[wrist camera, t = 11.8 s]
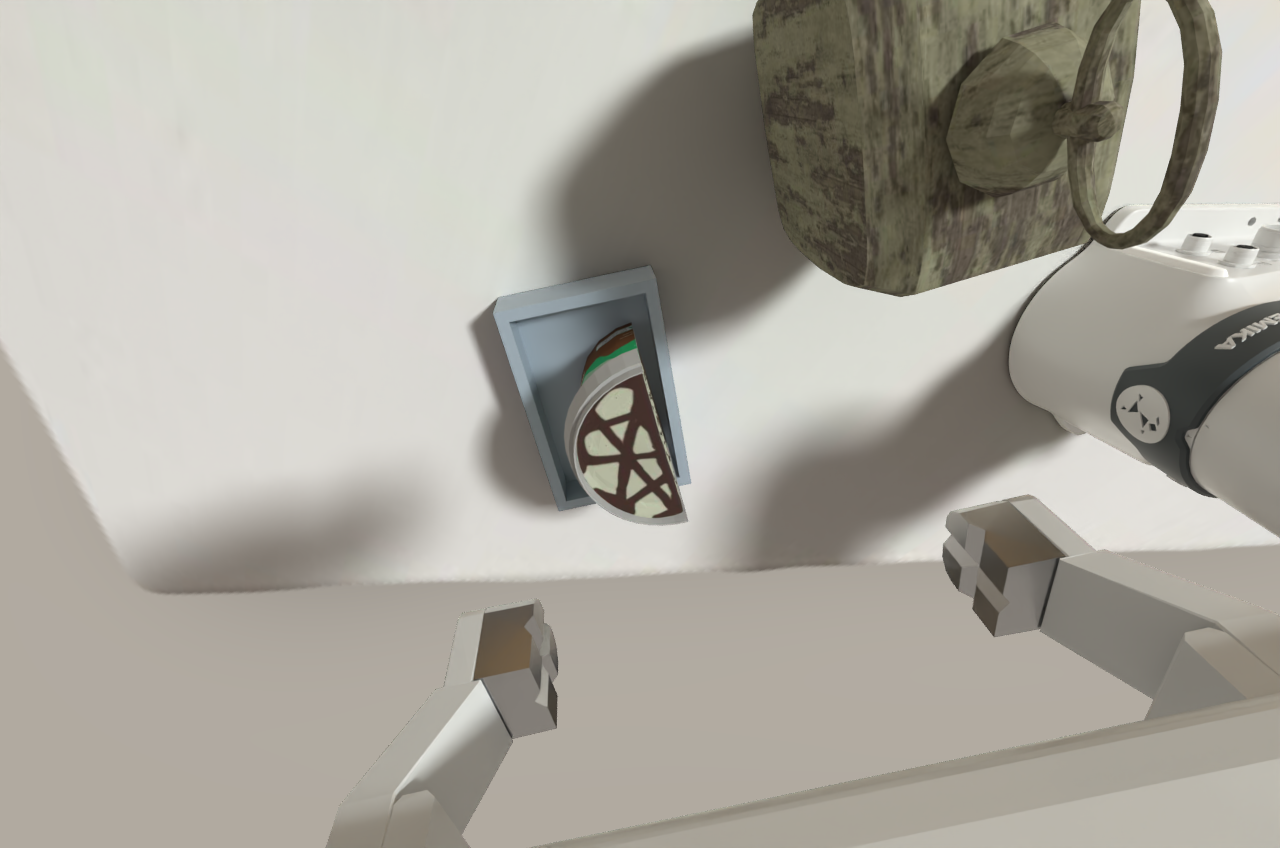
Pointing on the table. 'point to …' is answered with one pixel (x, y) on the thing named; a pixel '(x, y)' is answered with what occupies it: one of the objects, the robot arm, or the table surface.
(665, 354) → the holder tray
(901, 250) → the tabletop clock
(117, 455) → the table surface
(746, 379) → the table surface
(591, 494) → the food container
